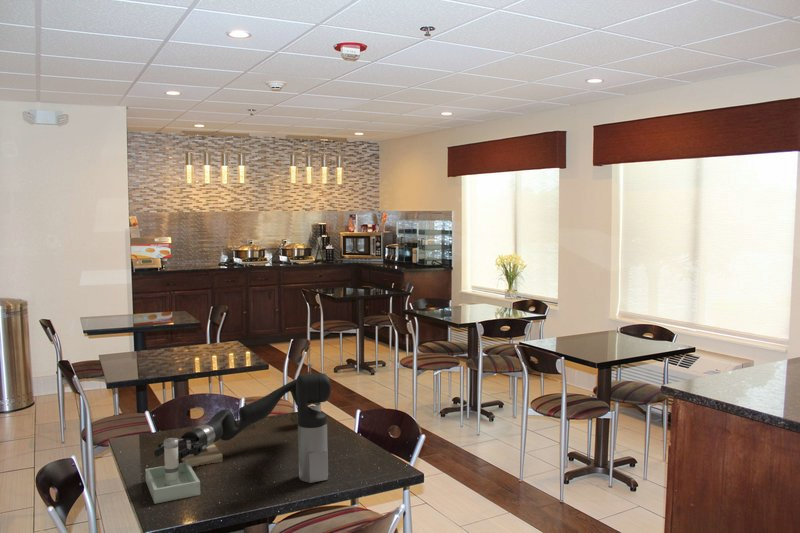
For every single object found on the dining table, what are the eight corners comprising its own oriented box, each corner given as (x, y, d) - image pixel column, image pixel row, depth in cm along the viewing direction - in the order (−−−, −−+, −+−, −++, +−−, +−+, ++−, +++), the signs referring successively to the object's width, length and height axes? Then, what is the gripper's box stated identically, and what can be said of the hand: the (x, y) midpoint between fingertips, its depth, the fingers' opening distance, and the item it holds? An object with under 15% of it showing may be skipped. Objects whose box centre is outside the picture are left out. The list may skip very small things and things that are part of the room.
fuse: (180, 485, 200) (179, 440, 199) (166, 488, 198) (164, 442, 197) (178, 481, 204) (176, 437, 203) (164, 483, 202) (162, 439, 201)
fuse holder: (222, 461, 224) (222, 454, 224) (186, 467, 218) (186, 460, 218) (212, 448, 238) (212, 441, 238) (178, 454, 232) (178, 447, 232)
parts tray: (200, 494, 195) (200, 481, 195) (154, 503, 189) (154, 490, 189) (188, 473, 213) (187, 461, 213) (145, 481, 207) (145, 469, 206)
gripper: (179, 426, 216) (147, 440, 200) (217, 429, 212) (186, 444, 196) (180, 448, 216) (148, 464, 201) (217, 451, 212) (187, 468, 197)
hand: (167, 454), depth 199 cm, fingers open, 8 cm apart
